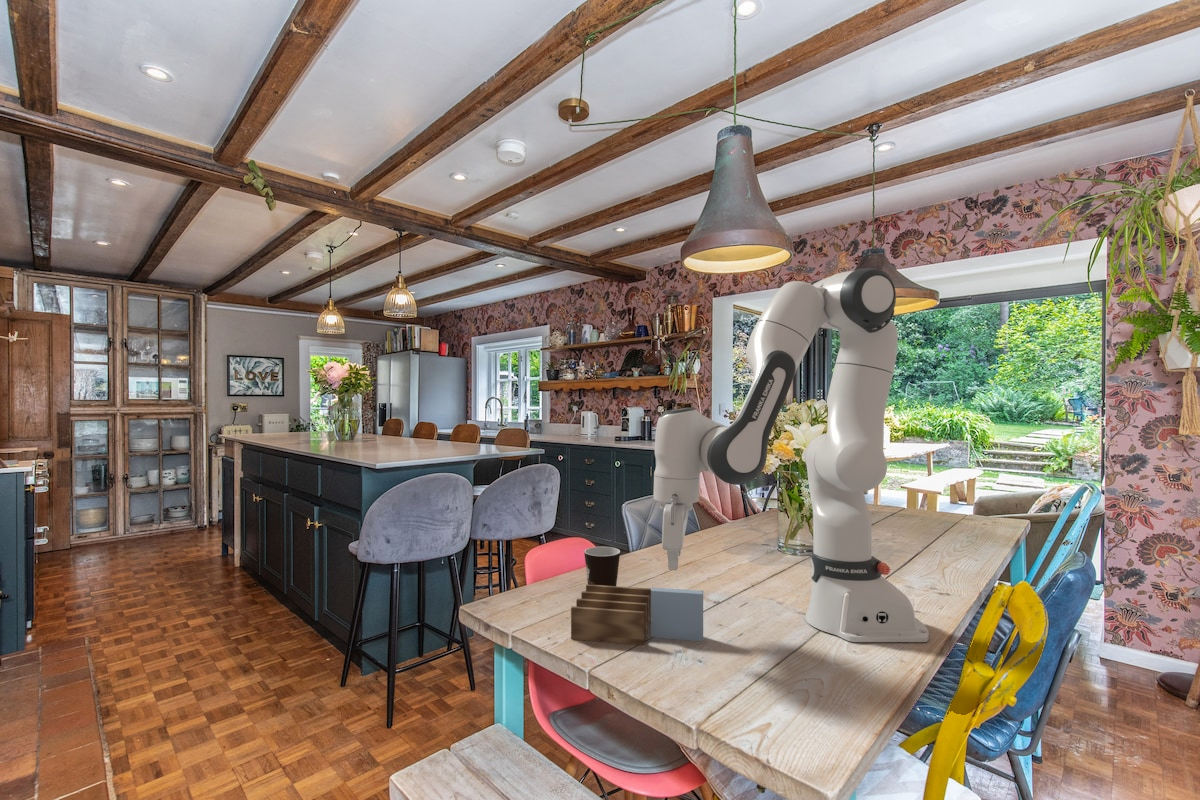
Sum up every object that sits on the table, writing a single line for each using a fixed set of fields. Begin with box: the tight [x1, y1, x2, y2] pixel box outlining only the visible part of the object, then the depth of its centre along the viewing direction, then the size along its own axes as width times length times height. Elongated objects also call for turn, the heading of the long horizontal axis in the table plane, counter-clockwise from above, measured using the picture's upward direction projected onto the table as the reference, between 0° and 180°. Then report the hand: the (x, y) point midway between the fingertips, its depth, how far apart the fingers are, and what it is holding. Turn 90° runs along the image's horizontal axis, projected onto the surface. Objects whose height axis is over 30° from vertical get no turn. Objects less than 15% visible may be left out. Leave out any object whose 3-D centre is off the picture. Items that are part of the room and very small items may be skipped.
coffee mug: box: [583, 546, 621, 586], centre depth 134 cm, size 12×9×10 cm
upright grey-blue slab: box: [650, 587, 704, 642], centre depth 108 cm, size 10×2×9 cm, turn 79°
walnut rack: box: [570, 583, 652, 646], centre depth 112 cm, size 14×14×6 cm
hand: (674, 562), depth 108 cm, fingers open, 8 cm apart
